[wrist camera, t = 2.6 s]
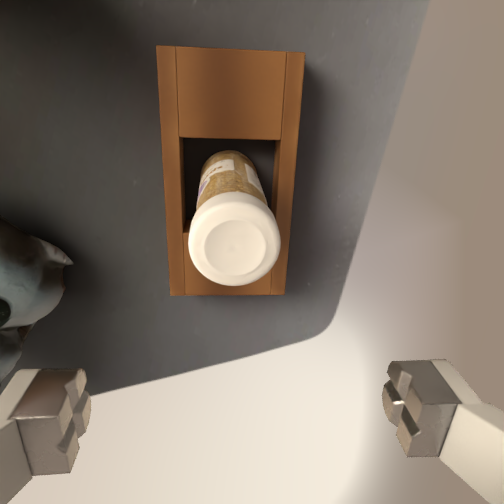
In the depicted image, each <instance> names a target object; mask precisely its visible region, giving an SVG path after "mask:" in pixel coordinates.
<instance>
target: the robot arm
mask: <svg viewBox="0 0 504 504" xmlns="http://www.w3.org/2000/svg"><path fill="white" fill-rule="evenodd" d="M387 373H388V375H389V377H390V380H389V381H388V382H387V383H386V384H385V385H384V388H383V393H382V399H383V407H384V410H385V413H386V416H387V418H388V420H389V421H390V422H391V423H393V424H394V425H395V426H397V427H398V429H397V434H396V436H397V438H398V440H399V442H400V444H401V446H402V448H403V450H404V452H405V454H406V456H407V457H437V456H438V457H439V459H440V460H441V461H443V462H444V463H445V464H446V465H447V466H448V467H449V468H450V469H452V470H453V471H454V472H455V473H456V474H457V475H458V476H459V477H461V478H462V479H463V480H464V481H465V482H466V483H468V485H470V486H471V487H472V488H473V489H474V490H475V491H476V492H477V493H479V494H480V495H481V496H482V497H483V498H484V499H485V500H486V501H488V502H489V503H490V504H504V412H503V411H502V410H500V409H498V408H496V407H495V406H493V405H491V404H490V403H483V402H482V401H481V400H480V399H479V397H478V396H477V395H476V394H475V392H473V390H472V389H471V387H470V386H469V385H468V384H467V383H466V381H465V380H464V379H463V378H462V377H461V375H460V374H459V373H458V371H457V370H456V369H455V368H454V367H453V365H452V364H451V363H450V362H449V361H447V360H446V359H435V360H421V361H420V360H418V361H392V362H391V363H390V365H389V367H388V371H387ZM86 382H87V378H86V373H85V370H83V369H21V370H19V371H18V372H16V373H15V375H14V376H13V378H12V379H11V381H10V382H9V384H8V385H7V387H6V388H5V390H4V391H3V392H2V394H1V395H0V504H7V503H8V502H9V501H10V500H11V499H12V498H13V497H14V496H15V495H16V494H17V493H18V492H19V491H20V490H21V489H22V488H23V487H24V486H25V485H26V484H27V483H28V482H29V481H30V480H31V479H32V476H36V475H50V474H63V473H70V472H71V470H72V467H73V464H74V461H75V459H76V456H77V453H78V450H79V443H78V438H79V437H80V436H82V435H83V434H84V433H85V432H86V429H87V426H88V423H89V418H90V412H91V400H90V394H89V393H88V392H87V391H86V390H85V389H84V387H85V385H86Z"/></svg>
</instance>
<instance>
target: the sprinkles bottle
mask: <svg viewBox="0 0 504 504" xmlns="http://www.w3.org/2000/svg"><path fill="white" fill-rule="evenodd" d="M200 181H201V182H200V186H199V193H198V200H197V211H196V213H195V215H194V217H193V219H192V222H191V226H190V232H189V239H188V247H189V253H190V257H191V259H192V261H193V263H194V265H195V267H196V268H197V269H198V270H199V272H201V273H202V274H203V275H204V276H205V277H206V278H208V279H210V280H211V281H214V282H216V283H219V284H222V285H227V286H240V285H246V284H249V283H252V282H254V281H256V280H258V279H260V278H261V277H263V276H264V275H265V274H267V273H268V272H269V271H270V269H271V268H272V267H273V265H274V264H275V262H276V260H277V258H278V255H279V252H280V245H281V242H280V234H279V230H278V226H277V223H276V220H275V218H274V215H273V213H272V212H271V210H270V209H269V208H268V206H267V201H266V198H265V196H264V193H263V190H262V187H261V184H260V182H259V179H258V177H257V172H256V169H255V167H254V165H253V163H252V162H251V161H250V160H249V159H248V158H247V156H245V155H243V154H242V153H240V152H238V151H234V150H225V151H221V152H217V153H215V154H214V155H212V156H211V157H210V158H209V159H208V160H207V161H206V162H205V164H204V165H203V167H202V170H201V175H200Z"/></svg>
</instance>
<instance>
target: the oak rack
mask: <svg viewBox="0 0 504 504" xmlns="http://www.w3.org/2000/svg"><path fill="white" fill-rule="evenodd" d="M156 54H157V71H158V89H159V106H160V123H161V141H162V158H163V175H164V193H165V210H166V227H167V244H168V262H169V279H170V295H171V296H173V295H270V294H271V295H284V294H285V285H286V273H287V262H288V250H289V238H290V227H291V215H292V204H293V192H294V181H295V169H296V157H297V146H298V134H299V123H300V111H301V100H302V88H303V77H304V65H305V53H304V52H285V51H264V50H244V49H223V48H202V47H181V46H177V47H175V46H161V45H156ZM183 138H217V139H252V140H275V153H274V169H273V185H272V201H271V212H272V213H273V215H274V218H275V220H276V223H277V226H278V230H279V234H280V242H281V245H280V252H279V255H278V258H277V260H276V262H275V264H274V265H273V267H272V268H271V269H270V271H269V272H268V273H267V274H265V275H264V276H263V277H261V278H260V279H258V280H256V281H254V282H252V283H249V284H246V285H240V286H227V285H222V284H219V283H216V282H214V281H211V280H210V279H208V278H206V277H205V276H204V275H203V274H202V273H201V272H199V270H198V269H197V268H196V267H195V265H194V263H193V261H192V259H191V257H190V253H189V247H188V239H189V232H190V226H191V222H192V220H186V206H185V177H184V149H183Z"/></svg>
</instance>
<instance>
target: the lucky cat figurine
mask: <svg viewBox="0 0 504 504" xmlns="http://www.w3.org/2000/svg"><path fill="white" fill-rule="evenodd" d="M71 264H73V262H72V261H71V260H70V258H69V257H68V256H67V255H66V254H65V253H64V252H63V251H62V250H60V249H59V248H58V247H56V246H54V245H52V244H50V243H48V242H46V241H43V240H41V239H39V238H37V237H34V236H32V235H31V234H29V233H27V232H25V231H24V230H22V229H20V228H18V227H17V226H15V225H14V224H12V223H11V222H9V221H8V220H6V219H5V218H3V217H2V216H1V215H0V386H1V383H2V381H3V379H4V378H5V376H6V375H7V374H9V373H10V372H11V370H12V369H13V367H14V366H15V363H16V361H18V359H19V358H20V356H21V354H22V345H23V343H24V341H25V339H26V337H27V335H28V333H29V332H30V331H31V329H32V328H33V326H34V325H35V323H36V322H37V321H38V320H39V319H41V318H43V317H45V316H46V315H48V314H49V313H50V312H51V311H52V310H53V309H54V308H55V307H56V306H57V305H58V303H59V301H60V299H61V297H62V295H63V292H64V291H65V289H66V288H65V286H64V283H63V270H64V266H65V265H71Z"/></svg>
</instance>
